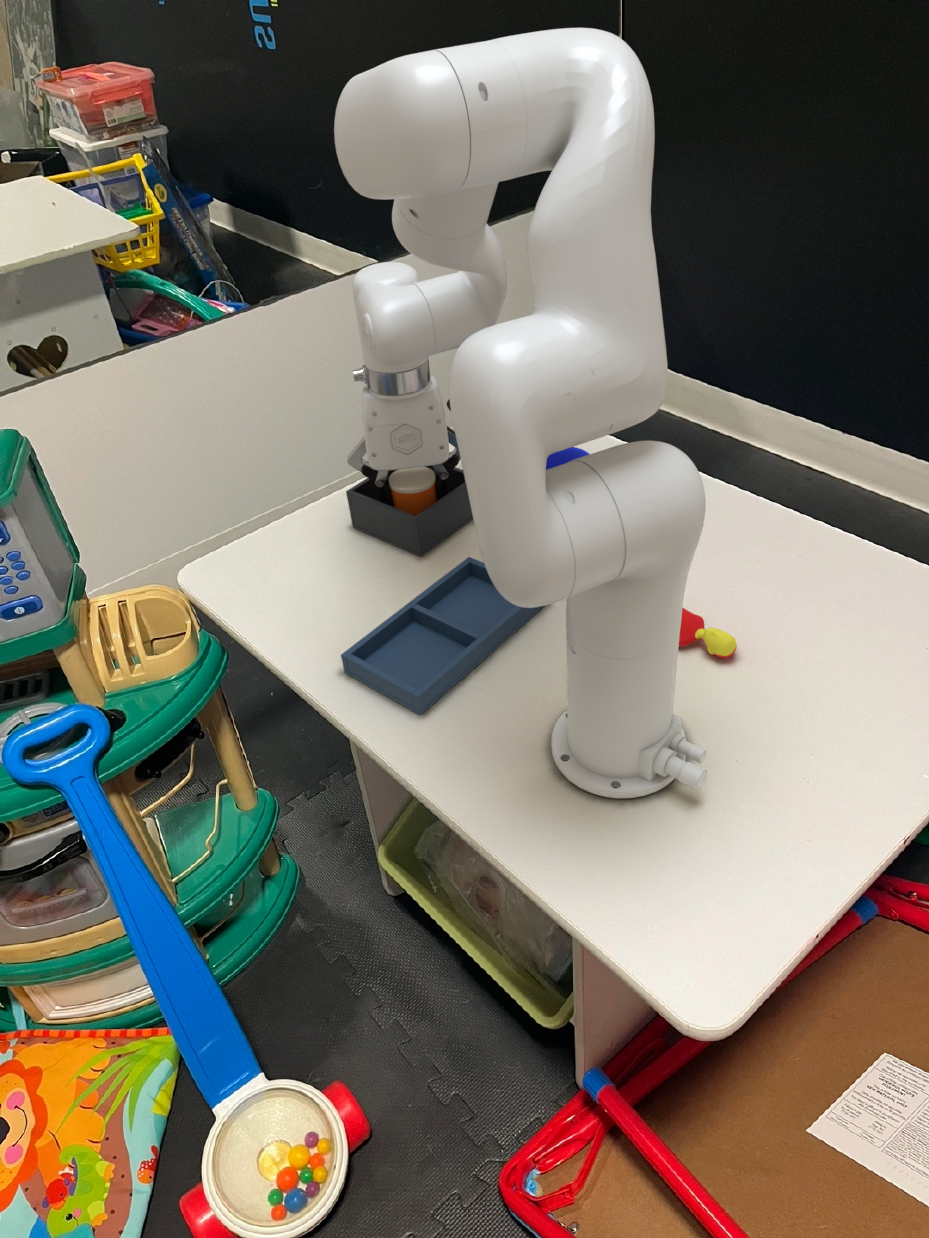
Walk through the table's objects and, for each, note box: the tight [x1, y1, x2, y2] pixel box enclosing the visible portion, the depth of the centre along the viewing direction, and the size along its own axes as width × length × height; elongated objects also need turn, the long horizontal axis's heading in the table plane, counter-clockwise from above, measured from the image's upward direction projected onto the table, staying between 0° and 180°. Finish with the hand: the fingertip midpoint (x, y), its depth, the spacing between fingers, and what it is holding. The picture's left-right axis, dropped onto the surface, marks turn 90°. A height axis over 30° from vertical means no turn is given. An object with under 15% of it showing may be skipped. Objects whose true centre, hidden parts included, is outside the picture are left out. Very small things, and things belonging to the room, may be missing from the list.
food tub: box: [389, 467, 438, 516], centre depth 118 cm, size 6×6×6 cm
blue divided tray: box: [340, 556, 546, 716], centre depth 101 cm, size 11×21×3 cm, turn 140°
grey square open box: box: [345, 466, 474, 558], centre depth 119 cm, size 12×12×6 cm
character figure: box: [679, 606, 738, 659], centre depth 100 cm, size 6×4×20 cm
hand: (415, 503), depth 119 cm, fingers closed on food tub, 6 cm apart
